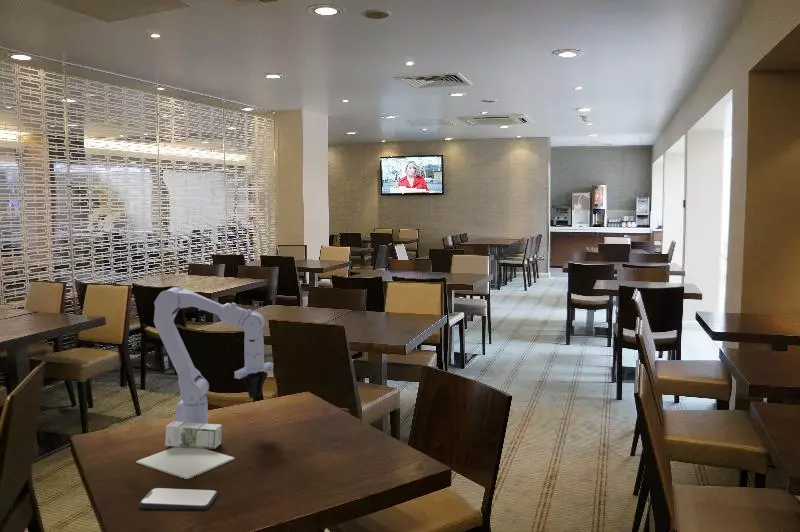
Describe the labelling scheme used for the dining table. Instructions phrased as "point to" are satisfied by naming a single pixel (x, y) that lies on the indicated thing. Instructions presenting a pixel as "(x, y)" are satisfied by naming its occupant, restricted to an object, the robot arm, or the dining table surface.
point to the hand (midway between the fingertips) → (254, 396)
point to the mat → (185, 461)
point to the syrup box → (193, 435)
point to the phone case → (178, 499)
